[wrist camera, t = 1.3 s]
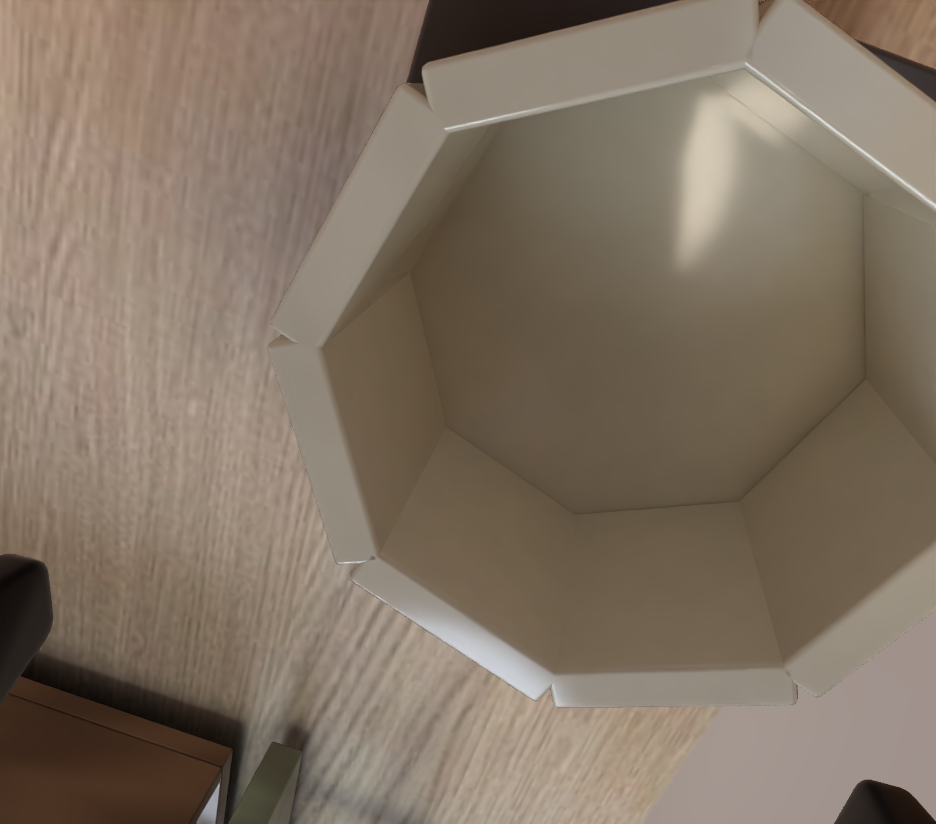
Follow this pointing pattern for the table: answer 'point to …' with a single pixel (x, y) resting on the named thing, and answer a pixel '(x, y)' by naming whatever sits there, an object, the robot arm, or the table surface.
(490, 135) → the faceted cream cylinder
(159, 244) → the table surface
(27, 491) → the table surface
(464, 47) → the pedestal
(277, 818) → the drawer
